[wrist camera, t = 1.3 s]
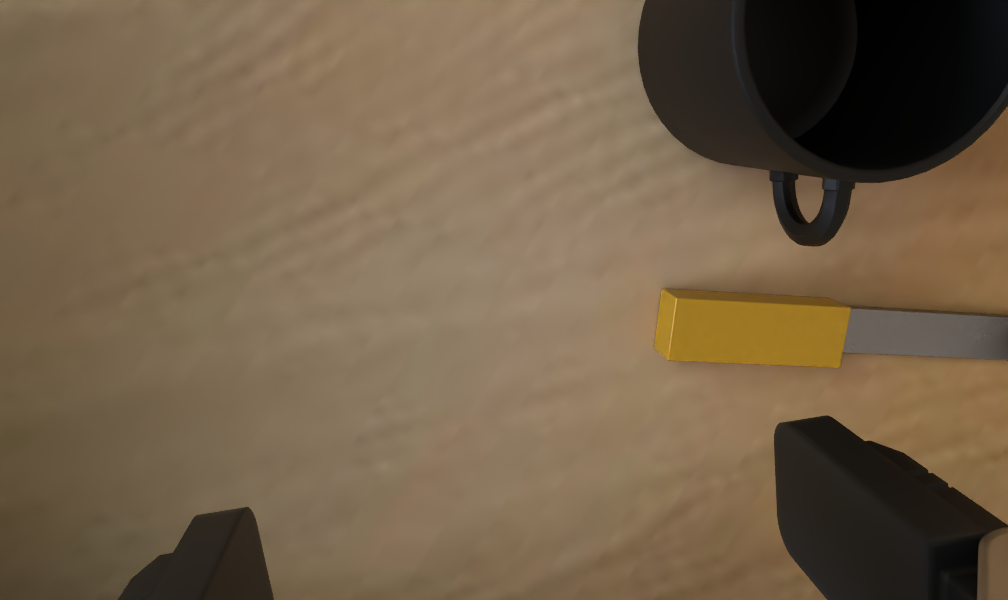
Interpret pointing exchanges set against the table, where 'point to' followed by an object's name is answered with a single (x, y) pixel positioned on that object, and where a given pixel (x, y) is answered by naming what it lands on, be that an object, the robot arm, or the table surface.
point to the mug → (826, 88)
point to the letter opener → (814, 330)
